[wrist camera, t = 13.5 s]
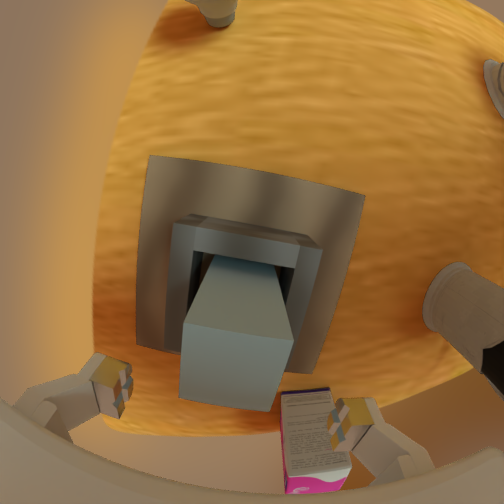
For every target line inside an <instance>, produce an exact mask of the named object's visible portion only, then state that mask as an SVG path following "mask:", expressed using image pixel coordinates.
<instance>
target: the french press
mask: <svg viewBox="0 0 504 504" xmlns="http://www.w3.org/2000/svg"><path fill="white" fill-rule="evenodd" d="M483 70H484V79H485V82H486V86H487V89H488V92H489V94H490V97H491V99H492V101H493V103H494V106H495V107H496V109H497V110H498V112H499V113H500V115H501V117H502V118H503V119H504V63H503V62H502V63H498V62H496V61H494V60H492V59H489V60H486V61H485V64H484V66H483Z"/></svg>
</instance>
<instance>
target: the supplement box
mask: <svg viewBox="0 0 504 504" xmlns="http://www.w3.org/2000/svg"><path fill="white" fill-rule="evenodd" d="M334 409H335V405H334V402H333V398H332V395H331V391H330V388H329V387H328V388H319V389H311V390H300V391H287V392H282V393H281V416H280V431H281V443H282V457H283V471H284V486H285V494H308V493H322V492H329V491H335V490H339V489H340V488H341V486H342V485H343V483H344V481H345V479H346V477H347V476H348V474H349V472H350V470H351V468H352V464H351V460H350V457H349V453H348V451H345V452H333V450H332V446H331V442H330V439H331V438H332V435H331V434H330V433H329V432H328V429H327V420H328V416H329V414H330V412H331V411H332V410H334Z"/></svg>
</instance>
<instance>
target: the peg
mask: <svg viewBox="0 0 504 504" xmlns="http://www.w3.org/2000/svg"><path fill="white" fill-rule="evenodd" d="M293 342H294V339H293V335H292V331H291V327H290V324H289V320H288V316H287V312H286V308H285V304H284V301H283V297H282V293H281V289H280V286H279V282H278V278H277V274H276V271H275V267H274V265H273V264H267V263H261V262H256V261H250V260H244V259H239V258H233V257H228V256H222V255H217V254H215V256H214V258H213V260H212V262H211V264H210V266H209V268H208V270H207V273H206V275H205V277H204V279H203V281H202V283H201V285H200V288H199V290H198V292H197V294H196V296H195V298H194V301H193V303H192V305H191V307H190V309H189V311H188V314H187V316H186V318H185V320H184V323H183V335H182V348H181V362H180V380H179V398H182V399H187V400H191V401H196V402H201V403H207V404H212V405H218V406H225V407H231V408H238V409H246V410H255V411H265V412H270V409H271V407H272V404H273V401H274V398H275V396H276V393H277V390H278V387H279V384H280V381H281V379H282V376H283V373H284V370H285V367H286V364H287V361H288V358H289V355H290V352H291V348H292V345H293Z"/></svg>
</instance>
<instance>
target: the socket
mask: <svg viewBox="0 0 504 504" xmlns="http://www.w3.org/2000/svg"><path fill="white" fill-rule="evenodd" d="M364 200H365V195H362V194H358V193H354V192H351V191H347V190H343V189H339V188H335V187H332V186H327V185H323V184H319V183H315V182H311V181H306V180H302V179H298V178H293V177H288V176H284V175H279V174H274V173H269V172H264V171H258V170H253V169H247V168H242V167H236V166H230V165H224V164H217V163H210V162H204V161H196V160H189V159H181V158H172V157H163V156H153V155H150V157H149V162H148V168H147V175H146V181H145V188H144V196H143V204H142V212H141V222H140V232H139V244H138V259H137V280H136V343H137V345H140V346H144V347H148V348H152V349H156V350H160V351H164V352H168V353H173V354H177V355H181V348H182V335H183V323H184V320H185V318H186V316H187V314H188V311H189V309H190V307H191V305H192V303H193V301H194V298H195V296H196V294H197V292H198V290H199V288H200V285H201V283H202V281H203V279H204V277H205V275H206V273H207V270H208V268H209V266H210V264H211V262H212V260H213V258H214V256H215V254H217V255H222V256H228V257H233V258H239V259H244V260H250V261H256V262H261V263H267V264H273V265H274V267H275V271H276V274H277V278H278V282H279V286H280V289H281V293H282V297H283V301H284V304H285V308H286V312H287V316H288V320H289V324H290V327H291V331H292V335H293V339H294V342H293V345H292V348H291V352H290V355H289V358H288V361H287V364H286V367H285V370H284V372H292V373H304V374H312V373H313V370H314V367H315V365H316V362H317V360H318V357H319V354H320V352H321V349H322V346H323V344H324V341H325V338H326V335H327V333H328V330H329V327H330V324H331V321H332V318H333V315H334V312H335V309H336V306H337V303H338V299H339V296H340V293H341V290H342V286H343V283H344V280H345V276H346V273H347V269H348V266H349V262H350V258H351V255H352V251H353V247H354V243H355V239H356V235H357V231H358V227H359V223H360V218H361V214H362V209H363V205H364Z"/></svg>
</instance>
